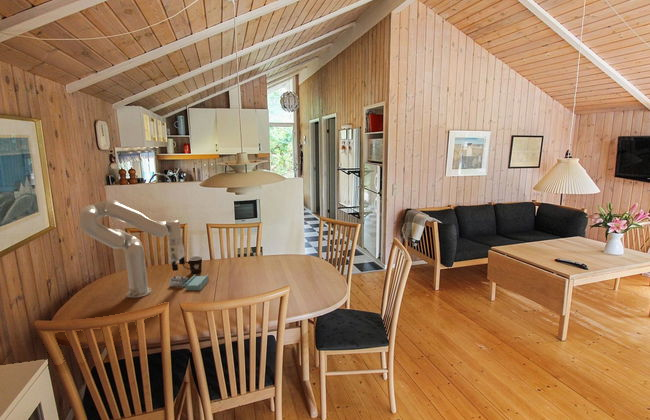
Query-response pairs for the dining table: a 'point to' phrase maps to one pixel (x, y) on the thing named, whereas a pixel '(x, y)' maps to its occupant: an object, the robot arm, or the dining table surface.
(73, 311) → the dining table surface
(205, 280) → the stand
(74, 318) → the dining table surface
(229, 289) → the dining table surface
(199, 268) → the coffee mug
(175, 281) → the housing
